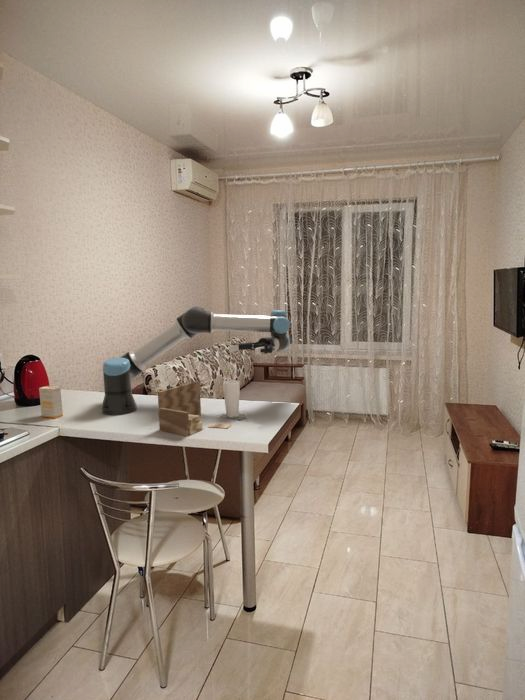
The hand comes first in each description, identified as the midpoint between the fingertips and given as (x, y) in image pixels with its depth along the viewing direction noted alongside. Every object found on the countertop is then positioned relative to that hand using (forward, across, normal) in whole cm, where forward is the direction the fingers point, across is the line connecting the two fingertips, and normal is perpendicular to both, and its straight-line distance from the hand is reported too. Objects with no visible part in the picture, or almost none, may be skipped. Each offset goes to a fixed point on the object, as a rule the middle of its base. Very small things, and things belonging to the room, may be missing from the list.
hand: (242, 350), depth 204 cm
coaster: (+7, 0, -28) cm, 29 cm away
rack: (+26, +6, -28) cm, 39 cm away
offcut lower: (+33, +2, -27) cm, 43 cm away
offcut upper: (+33, +2, -24) cm, 41 cm away
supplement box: (+44, +72, -30) cm, 89 cm away
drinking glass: (+7, 0, -28) cm, 29 cm away
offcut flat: (+23, -5, -29) cm, 37 cm away
